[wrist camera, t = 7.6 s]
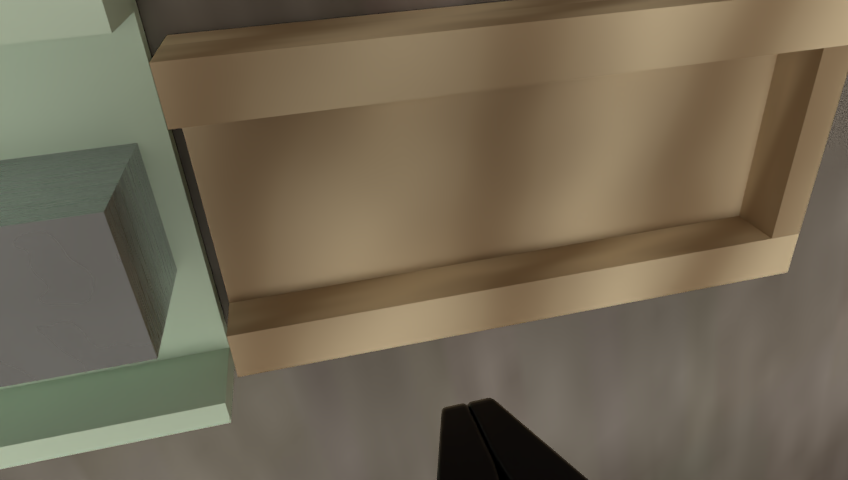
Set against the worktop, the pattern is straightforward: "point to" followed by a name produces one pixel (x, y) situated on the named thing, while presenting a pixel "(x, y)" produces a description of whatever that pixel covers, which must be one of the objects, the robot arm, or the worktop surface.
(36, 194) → the grey cube
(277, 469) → the worktop surface
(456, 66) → the wooden tray
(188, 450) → the worktop surface
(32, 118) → the green tray
